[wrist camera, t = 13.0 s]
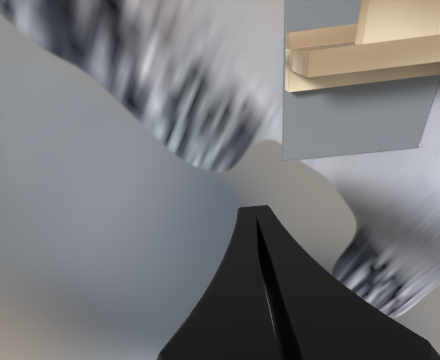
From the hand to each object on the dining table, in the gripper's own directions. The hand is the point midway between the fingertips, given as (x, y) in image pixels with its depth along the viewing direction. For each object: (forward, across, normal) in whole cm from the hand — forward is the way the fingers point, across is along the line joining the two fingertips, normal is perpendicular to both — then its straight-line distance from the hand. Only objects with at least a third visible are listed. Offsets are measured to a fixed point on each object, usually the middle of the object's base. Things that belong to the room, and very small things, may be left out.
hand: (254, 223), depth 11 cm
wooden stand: (+10, -9, -7) cm, 15 cm away
